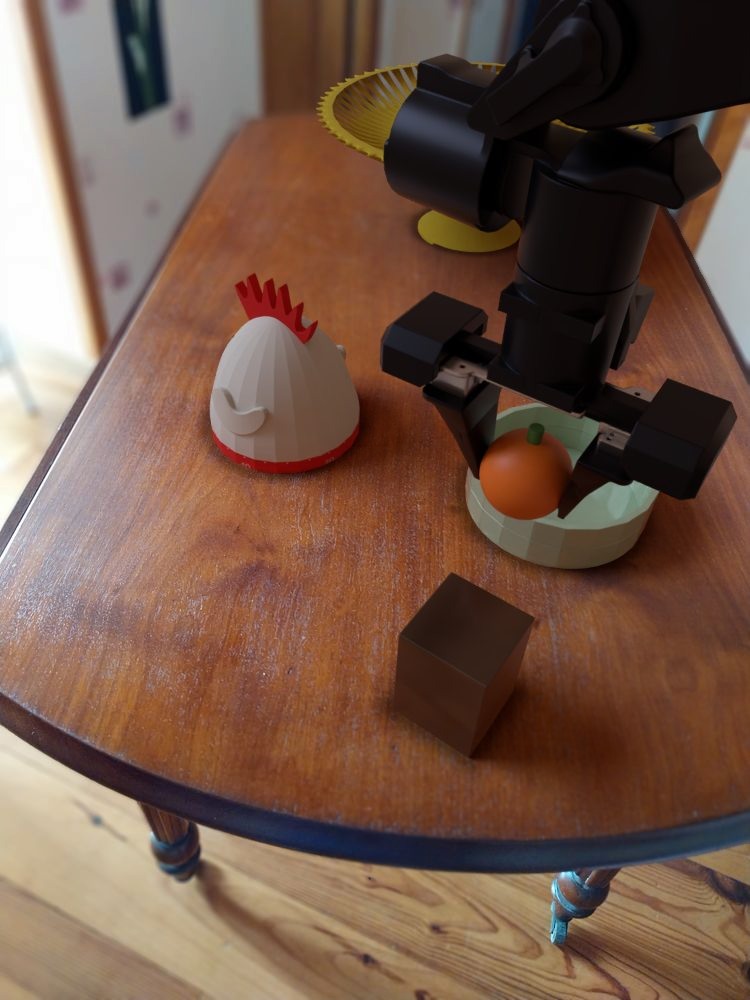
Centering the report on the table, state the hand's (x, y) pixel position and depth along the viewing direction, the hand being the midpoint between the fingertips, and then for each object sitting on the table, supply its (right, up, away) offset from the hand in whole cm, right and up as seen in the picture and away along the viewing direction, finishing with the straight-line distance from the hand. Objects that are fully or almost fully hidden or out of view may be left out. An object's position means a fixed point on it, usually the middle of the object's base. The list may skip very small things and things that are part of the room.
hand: (521, 494), depth 47 cm
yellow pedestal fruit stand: (+4, +36, +54) cm, 65 cm away
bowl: (+6, -1, +18) cm, 19 cm away
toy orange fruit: (0, -1, +1) cm, 1 cm away
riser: (-4, -14, +4) cm, 15 cm away
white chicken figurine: (-18, +7, +24) cm, 31 cm away
